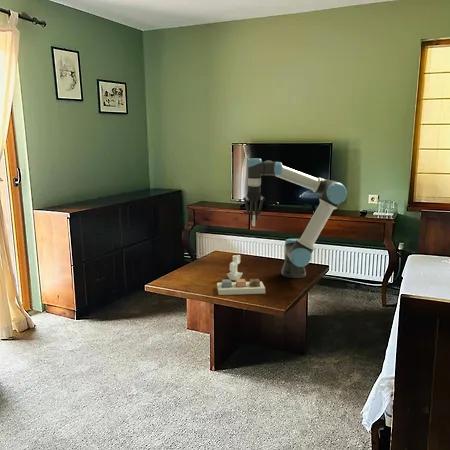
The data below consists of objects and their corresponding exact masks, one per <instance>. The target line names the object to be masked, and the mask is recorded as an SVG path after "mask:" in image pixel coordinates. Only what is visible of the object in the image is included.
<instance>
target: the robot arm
mask: <svg viewBox="0 0 450 450" xmlns="http://www.w3.org/2000/svg"><path fill="white" fill-rule="evenodd" d="M247 162H248V163H247V194H246V196H243V197H242V200H243V201H244V204H245V208H246V213H247V214H248V215H249V216H250V217H249V219H250V221H251V226H252V227H256V221H257V220H258V215H260V214H262V213H261V211H262V209H263V204H264V201H265V200H266V197H264V196H262V193H261V191H262V186H261V185H262V176H274V177H277V178H280V179H282V180H285V181H287V182H290V183H293V184H295V185H298V186H301V187H303V188H305V189H309V190H311V191H312V192H313V193H315V194H317V195H318V196H319V205H318V206H317V207H316V209H315V212H314V213H313V215H312V217H311V218H310V220H309V222H308V224H307V225H306V228H305V229H304V231H303V232H302V235H301V236H300V238H288V239H285V242H284V263H283V265H282V269H281V276H283V277H285V278H290V279H301V278H304V277H306V276H307V272H306V268H305V267H306V266H307V265H308V264H310V262H311V259H312V253H313V251H314V250H315V246H314V245H315V243H316V241H317V239H318V238H319V236H320V234H321V232H322V230H323V229H324V227H325V225H326V223H328V222H327V221H328V220H329V218H330V217H331V215H332V213H333V211H335V210H336V209H337V210H338V207H339V206H340V204H341V203H344V202H345V200H346V198H347V196H348V191H347V188H346V187H345V185H344V184H343V183H341V182H338V181H335V180H330V179H326V178H322V177H315V176H312V175H310V174H307V173H304V172H302V171H298V170H295V169H293V168H290V167H288V166H286V165H283V163H282V162H281V161H272V160H270V159H269V160H268V159H267V160H265V161H263V160H262V158H257V157H256V158H255V157H254V158H251V157H250V158H249V159H248V161H247ZM248 200H249V202H250V203H249V204H250V207H249V204H248ZM259 200H260V202H259ZM258 202H259V203H258ZM258 206H259V207H258Z"/></svg>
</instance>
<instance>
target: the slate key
mask: <svg viewBox="0 0 450 450" xmlns="http://www.w3.org/2000/svg"><path fill="white" fill-rule="evenodd" d="M221 282H222V288H231V287H232V282H233V281H232V280H231V279H229V278H228V279H227V278H226V279H221Z"/></svg>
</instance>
